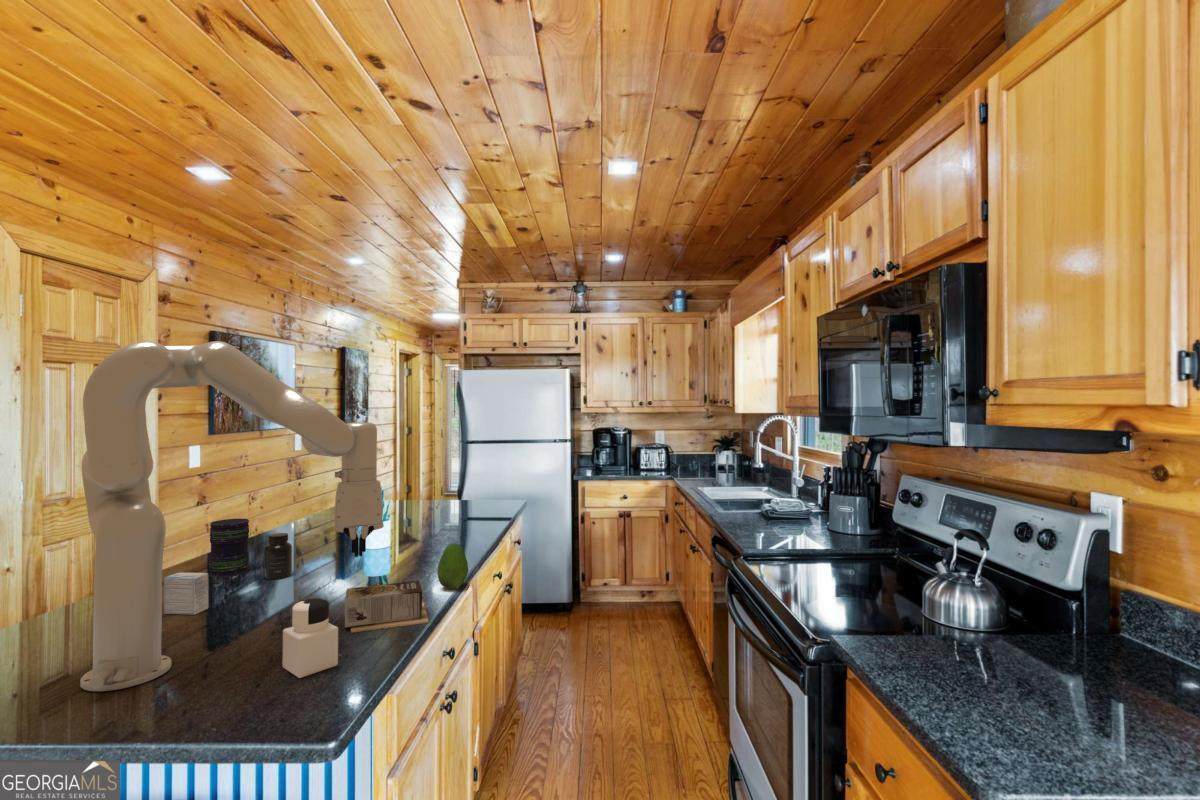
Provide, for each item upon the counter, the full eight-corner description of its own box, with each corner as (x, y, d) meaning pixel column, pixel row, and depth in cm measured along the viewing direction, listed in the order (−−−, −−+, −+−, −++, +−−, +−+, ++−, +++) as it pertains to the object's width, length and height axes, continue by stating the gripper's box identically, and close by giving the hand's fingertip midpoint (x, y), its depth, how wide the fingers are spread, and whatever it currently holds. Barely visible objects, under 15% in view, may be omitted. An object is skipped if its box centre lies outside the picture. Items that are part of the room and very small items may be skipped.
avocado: (460, 593, 150) (461, 546, 151) (432, 591, 151) (432, 545, 152) (472, 584, 158) (472, 540, 158) (445, 583, 159) (445, 539, 160)
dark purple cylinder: (215, 569, 173) (216, 519, 174) (252, 566, 176) (253, 517, 177) (203, 578, 164) (204, 525, 164) (243, 575, 167) (244, 523, 167)
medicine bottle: (320, 655, 112) (321, 593, 112) (338, 665, 108) (339, 600, 108) (281, 667, 107) (282, 602, 107) (298, 679, 102) (299, 610, 102)
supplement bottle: (265, 574, 168) (266, 533, 168) (292, 572, 170) (292, 531, 171) (263, 581, 161) (263, 537, 162) (291, 578, 164) (291, 535, 164)
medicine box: (209, 609, 139) (209, 572, 139) (194, 615, 134) (194, 578, 134) (178, 608, 139) (179, 571, 140) (163, 614, 135) (163, 577, 135)
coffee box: (346, 587, 133) (419, 579, 139) (345, 615, 133) (419, 606, 139) (344, 598, 124) (423, 589, 130) (344, 628, 124) (422, 618, 130)
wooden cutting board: (428, 622, 129) (428, 620, 129) (350, 632, 123) (350, 630, 123) (421, 596, 148) (421, 594, 148) (353, 603, 142) (353, 601, 142)
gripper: (322, 478, 128) (321, 562, 127) (394, 476, 133) (393, 556, 133) (324, 475, 135) (324, 554, 134) (392, 472, 140) (392, 549, 140)
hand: (358, 555), depth 133 cm, fingers closed
